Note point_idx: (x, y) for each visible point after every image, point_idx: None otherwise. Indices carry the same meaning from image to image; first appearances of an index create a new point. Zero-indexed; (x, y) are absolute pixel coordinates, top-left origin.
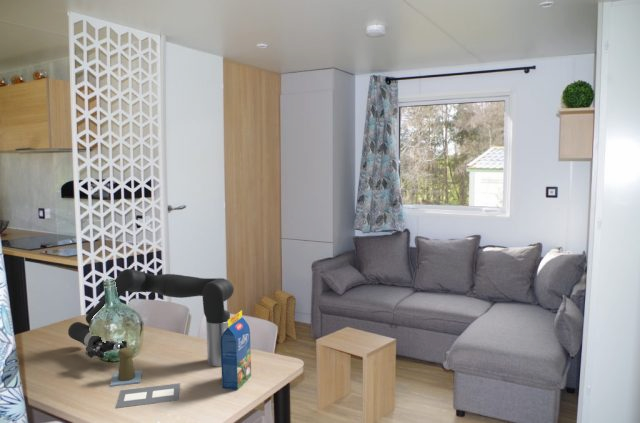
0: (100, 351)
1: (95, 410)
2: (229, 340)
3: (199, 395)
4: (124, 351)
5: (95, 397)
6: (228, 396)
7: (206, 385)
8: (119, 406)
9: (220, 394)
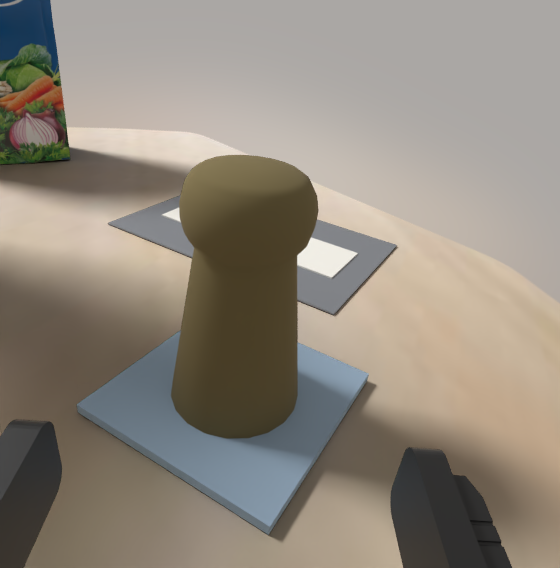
0: (453, 537)
1: (468, 271)
2: None
3: (148, 173)
4: (279, 161)
5: (464, 339)
6: (109, 147)
7: (73, 183)
8: (382, 243)
9: (109, 155)
